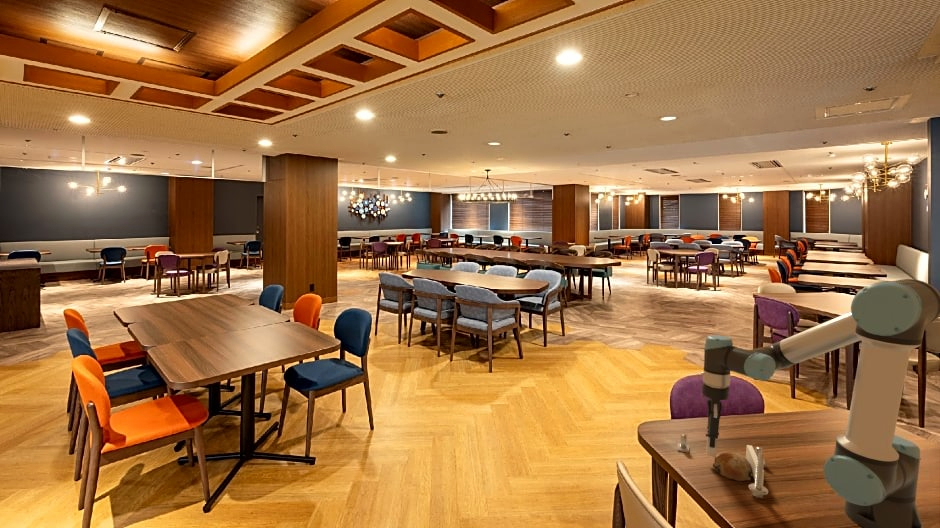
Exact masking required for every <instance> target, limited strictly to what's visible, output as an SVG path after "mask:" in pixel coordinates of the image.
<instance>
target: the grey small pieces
mask: <svg viewBox="0 0 940 528" xmlns="http://www.w3.org/2000/svg"><path fill="white" fill-rule="evenodd" d="M687 442H688V434H686V433H681V434H680V441H679V442H677V451H678V452H683V453H690V445H689V444H688V443H687ZM754 451H755V453H756V455H757V457H758V452H761V453H762V454H764V453H763V451H764V448H763V447H762V446H755V449H754ZM763 461H764V462H763V463H764V464H763V465H764V466H763V467H764V468H766V467H767V463H766V460H765V458H763Z"/></svg>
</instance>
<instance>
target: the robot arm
mask: <svg viewBox="0 0 940 528" xmlns="http://www.w3.org/2000/svg"><path fill="white" fill-rule="evenodd" d="M939 317H940V292H939V291H938V289H937V288H935V287H934V286H933V285H931V284H930V283H927V282H925V281H923V280H918V279H911V278H906V279H896V280H891V281H890V280H889V281H888V280H884V281H879V282H874V283H872V284H870V285H867V286H865V287H863V288H861V289H860V290H859V291H858V292H857V293H856V294H855V296H854V297H853V298H852V300H851V305H850V311H848V312H846V313H843V314H841V315H838V316H837V317H835V318H832V319H829V320H827V321H824V322H822V323H820V324H817V325H815V326H813V327H809V328H808V329H805V330H803V331H800V332H799V333H795V334H794V335H791V336H789V337H786V338H784V339H782V340H779V341H776V342H774V343H772V344H770V345H766V346H762V347H757V348H752V349H747V348H746V349H744V348H741V347H737V346H735V345H734V344H733V343H734V342H733V339H732V338H731V337H728V336H727V335H719V334H712V335H711V334H710V335H708V336H706V338H705V344H704V348H703V350H704V353H703V354H704V356H703V357H704V359H703V361H704V362H703V372H700V375H701V376H702V382H703V383H702V387H701V388H702V389H701V394H702V396H704V397H705V398H708V399H707V401H706V403H707V426H706V428H707V431H706V432H707V433H705V437H706V453H705V455H706V456H708V457H714V458H716V457H717V445H718V438H719V436H720V433H719V429H720V419H721V412H722V410H723V404H722V401H726V400H728V399H729V395H730V394H729V393H730V387H729V386H730V385H731V372H733V373H737V374H739V375H742V376H746V377H749V378H750V379H754V380H758V381H759V380H760V381H768V380H770V379H771V377H773V376H774V374H775V371H780V370H784V369H788V368H790V367H792V366H794V365H796V364H799V363H802V362H805V361H807V360H810V359H813V358H815V357H818V356H820V355H824V354H827V353H830V352H832V351H835V350H838V349H840V348H844V347H845V346H849V345H851V344H854V343H857V342H861V345H860V352H859V356H858V362H857V368H856V373H855V379H854V385H853V391H852V394H851V395H852V397H851V402H850V408H849V414H848V419H847V425H846V430H845V432H844V433H841V434H839V435H838V436H837V437H836V441H835V445H834V446H835V447H834V453H833V455H832V456H829V457H828V459H826V461H825V463H824V464H823V475H824V478H825V480H826V483H827V484H828V485H829V486H830V487H831V489H832V490H833V491H834V492H835V493H836V494H837V495H838V496H839V497H841V498H842V499H843V500H845V506H844V507H845V508H844V511H845V513H846V516H848V517H849V518H850V520H852V521H853V522H854V523H856V524H857V525H859V526H860V527H863V528H923V526H924V525H923V523H922V519H921V517H920V513H919V511H918V506H917V503H916V499H917V498H916V497H917V492H918V491H917V489H918V480H919V472H920V461H921V460H922V458H921V449H920V447H919V446H918V445H917V444H916V443H914V442H913V441H910V440H908V439H906V438H903V437H901V436H898V435H895V433H896V427H897V424H898V423H897V422H898V418H899V411H900V407H901V401H902V397H903V391H904V386H905V380H906V375H907V371H908V366H909V360H910V355H911V351H912V350H915V349H916V348H918V347H921V346H922V342H923V338H924V332H925V328H926V326H928V325H930V324H932V323H934V322H936V321H937V320H938V319H939Z"/></svg>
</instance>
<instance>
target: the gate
mask: <svg viewBox="0 0 940 528" xmlns="http://www.w3.org/2000/svg"><path fill="white" fill-rule="evenodd" d="M745 448H746V451H745V458H746V459H747V460H748V461H749V463H750V465H751V468H752V473H751V475H752V476H753V479H754V483H755V482H756V481H755V480H756V479H755V478H756V477H755V476H756V475H755V474H756V473H755V472H756V466H757V465H756V464H757V463H756V462H757V459H758V457H757V455H756V453H755V449H754V446H753V445H751V444H746V447H745ZM764 478H765V470H764V469H763V478H762V479H763V480H762V481H763V482H762V486H764Z"/></svg>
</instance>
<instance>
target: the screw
mask: <svg viewBox="0 0 940 528" xmlns="http://www.w3.org/2000/svg"><path fill="white" fill-rule="evenodd" d="M763 454H764V453H763ZM763 454H762V453H761V452H758V459H757V462H756V463H757V464H756V465H757V466H756V472H755V473H756V474H755V475H756V476H755V477H756V478H755V479H756V480H755V479H754V482H753V483H750V484H748V487H747V488H748V489H749V490H750V491H751V492H752V496H754V497H755V498H759V499H763V498H764V495H768V493H769V490H768V488H767V487H766V486H764V485H763V486H762V482H763V483H764V480H763V479H762V478H763V470H764V468H765V467H763V466H764V465H763V464H764V463H763V462H764V461H765V460H764V461H763V457H764V455H763ZM762 480H763V481H762ZM755 481H756V482H755Z"/></svg>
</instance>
